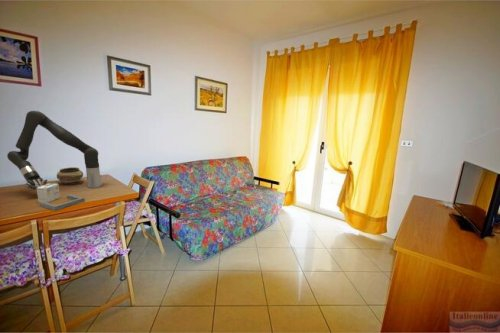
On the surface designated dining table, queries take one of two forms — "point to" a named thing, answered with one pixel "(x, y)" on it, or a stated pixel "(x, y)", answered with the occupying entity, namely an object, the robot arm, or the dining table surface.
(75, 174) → the ceramic bowl
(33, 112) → the robot arm
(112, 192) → the dining table surface
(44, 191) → the light bulb box
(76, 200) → the charcoal bay
